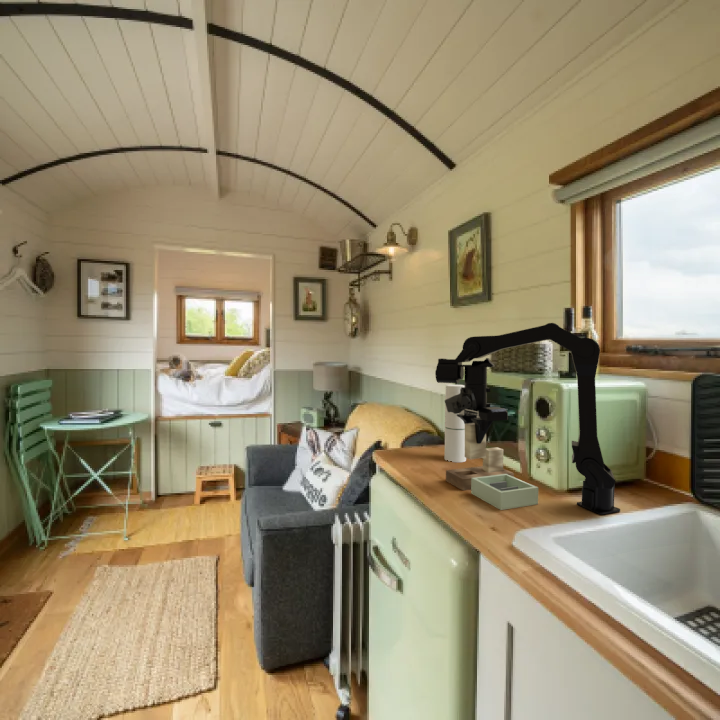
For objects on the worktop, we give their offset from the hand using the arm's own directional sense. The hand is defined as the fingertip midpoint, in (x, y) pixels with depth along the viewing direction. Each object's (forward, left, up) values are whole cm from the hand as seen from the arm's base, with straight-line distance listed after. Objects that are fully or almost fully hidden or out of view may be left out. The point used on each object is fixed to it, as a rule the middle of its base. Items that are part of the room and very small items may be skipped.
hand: (475, 442), depth 104 cm
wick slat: (-8, -3, -12) cm, 15 cm away
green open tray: (-2, +9, -12) cm, 15 cm away
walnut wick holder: (-4, -3, -12) cm, 13 cm away
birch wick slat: (0, 0, -4) cm, 4 cm away
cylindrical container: (-11, -25, -12) cm, 30 cm away
